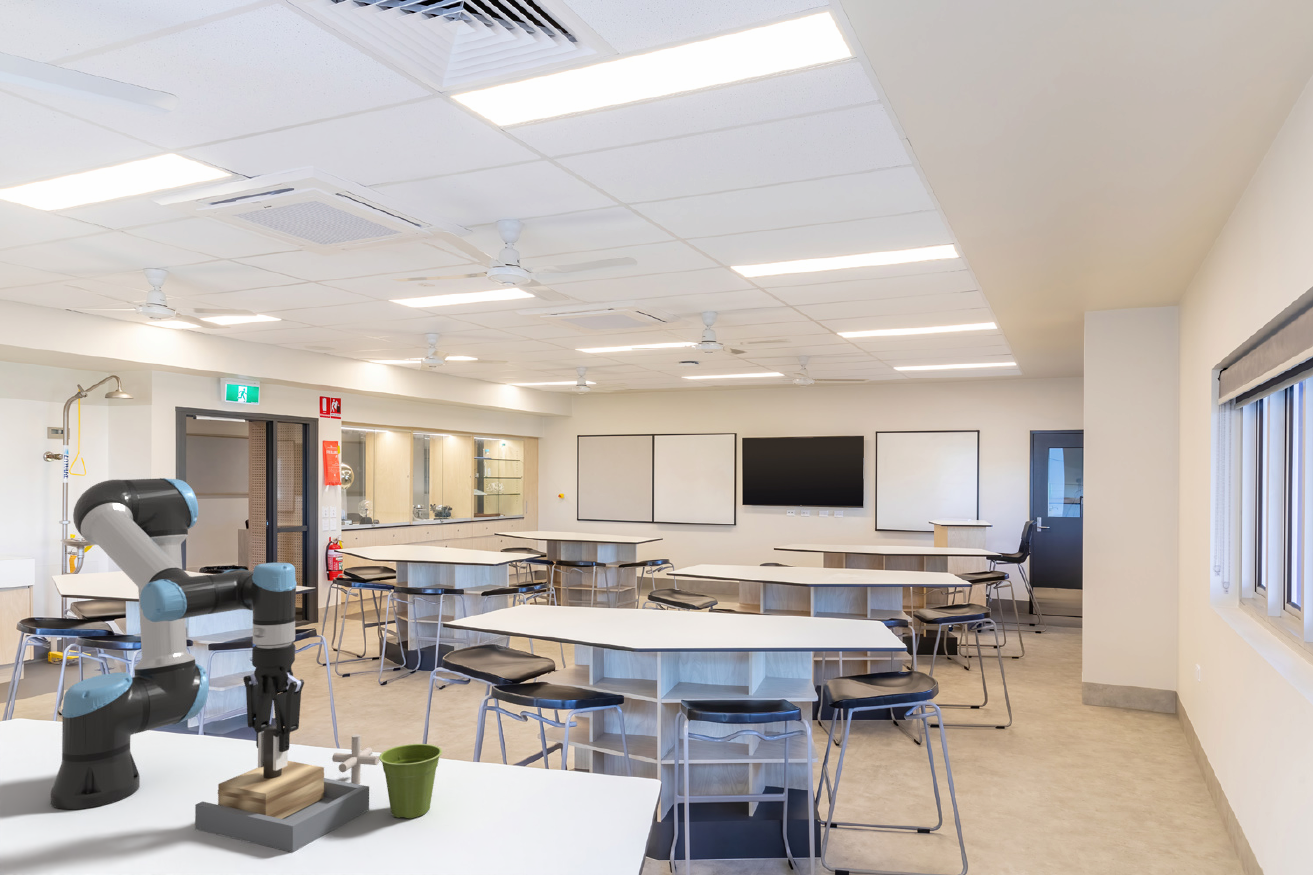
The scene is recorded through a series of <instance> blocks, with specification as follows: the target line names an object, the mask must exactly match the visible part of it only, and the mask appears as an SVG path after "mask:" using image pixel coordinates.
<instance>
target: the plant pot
mask: <svg viewBox="0 0 1313 875" xmlns="http://www.w3.org/2000/svg"><path fill="white" fill-rule="evenodd" d="M442 753H443V749H442V748H441V747H439V746H436V745H434V744H428V743H426V744H425V743H413V744H411V743H409V744H401V745H398V746H394V747H391V748H389V749H386V750H384V751H383V752H381V753H380V754H379V755H378V756H379V759H380V760H379V762H381V764H382V769H383V772H384V776H385V780H386V782H385V783H386V789H387V795H388V801H389V807H390V813H391V816H393V817H395V818H397V819H399V818H406V819H413V818H417V817H421V816H423V815H425V814H426V813H427V812H428V811H429V810H430V807H431V803H432V797H433V790H434V783H435V777H436V771H437V767H438V765H439V759H440V757H441V756H442Z"/></svg>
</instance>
